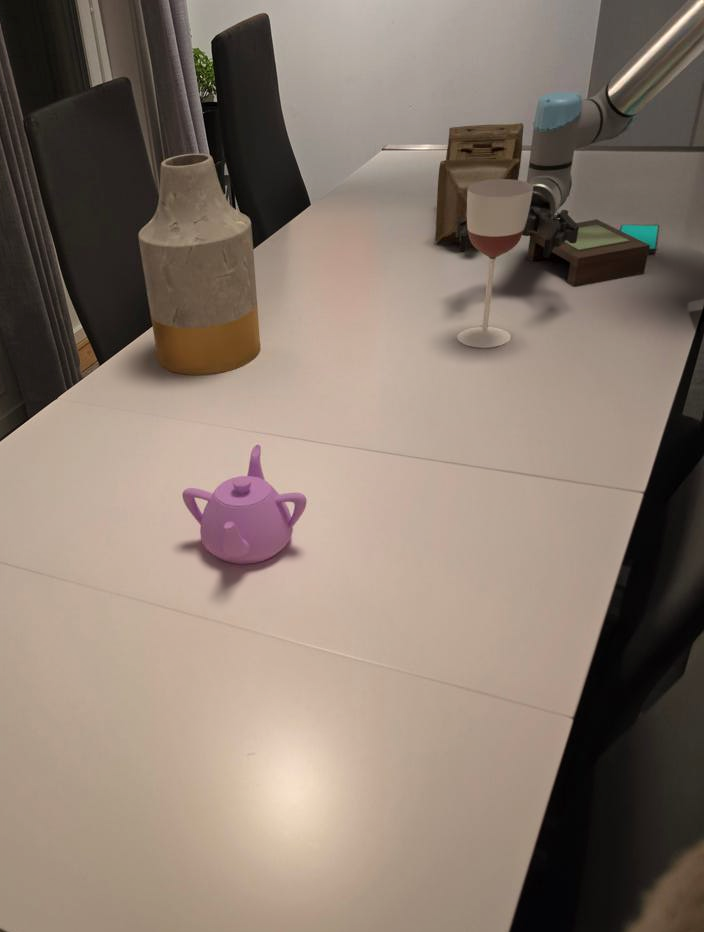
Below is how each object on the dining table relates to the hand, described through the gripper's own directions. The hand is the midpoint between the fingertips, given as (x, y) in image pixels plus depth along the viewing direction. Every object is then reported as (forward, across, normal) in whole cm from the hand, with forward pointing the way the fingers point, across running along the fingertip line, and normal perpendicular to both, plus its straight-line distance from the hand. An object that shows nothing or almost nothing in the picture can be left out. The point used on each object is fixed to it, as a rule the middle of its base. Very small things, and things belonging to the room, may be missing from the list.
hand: (503, 246), depth 137 cm
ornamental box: (-47, +17, -13) cm, 51 cm away
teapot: (+74, +11, -13) cm, 76 cm away
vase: (+25, +44, -13) cm, 52 cm away
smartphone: (-46, -16, -12) cm, 50 cm away
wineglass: (+7, 0, -13) cm, 14 cm away
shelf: (-30, -9, -12) cm, 34 cm away
